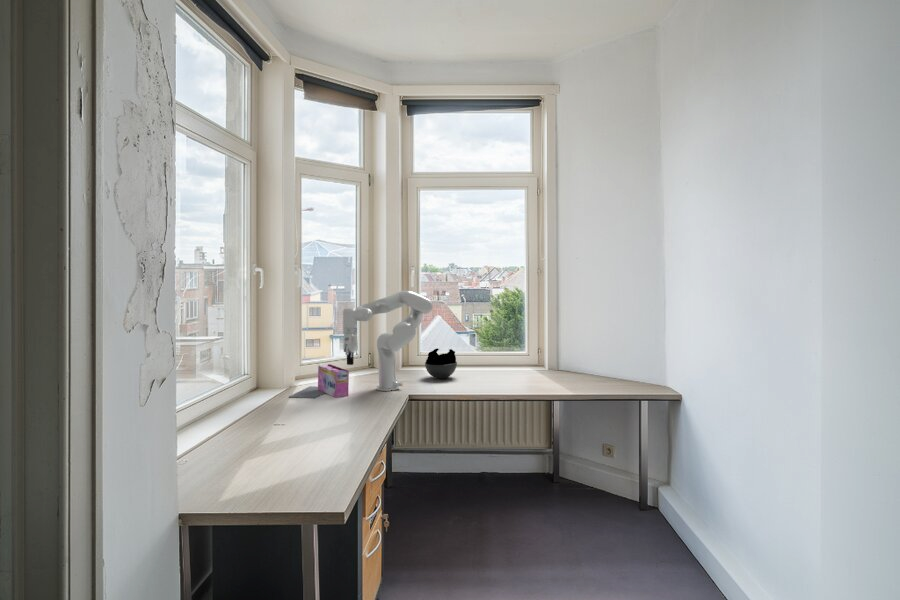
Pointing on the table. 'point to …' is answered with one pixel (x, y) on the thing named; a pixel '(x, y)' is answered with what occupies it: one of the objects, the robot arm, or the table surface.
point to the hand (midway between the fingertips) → (350, 364)
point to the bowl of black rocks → (441, 364)
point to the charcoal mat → (308, 393)
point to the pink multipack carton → (333, 380)
